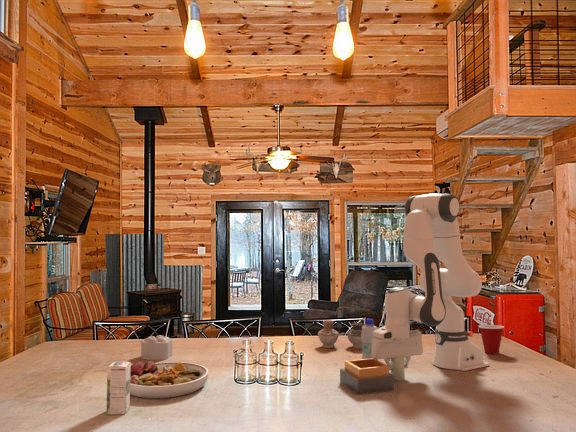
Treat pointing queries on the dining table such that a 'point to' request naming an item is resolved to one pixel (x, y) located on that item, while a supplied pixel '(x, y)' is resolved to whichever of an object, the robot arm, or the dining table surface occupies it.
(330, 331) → the pottery
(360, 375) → the tan and grey box
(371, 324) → the bottle
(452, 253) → the robot arm
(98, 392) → the dining table surface
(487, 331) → the plastic cup
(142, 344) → the white lumpy-lid tub
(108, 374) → the syrup box
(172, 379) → the bowl
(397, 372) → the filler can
